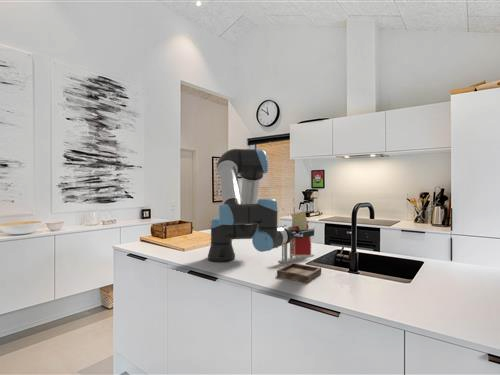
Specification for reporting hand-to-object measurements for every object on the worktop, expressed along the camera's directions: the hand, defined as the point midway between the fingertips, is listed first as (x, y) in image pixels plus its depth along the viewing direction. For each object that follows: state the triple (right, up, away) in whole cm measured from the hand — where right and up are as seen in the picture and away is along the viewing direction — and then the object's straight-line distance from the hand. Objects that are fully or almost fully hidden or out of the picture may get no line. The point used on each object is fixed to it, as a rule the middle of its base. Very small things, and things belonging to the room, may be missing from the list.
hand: (303, 228), depth 138 cm
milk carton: (-2, -11, -4) cm, 12 cm away
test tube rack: (+1, -20, +25) cm, 33 cm away
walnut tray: (-3, -21, -3) cm, 21 cm away
